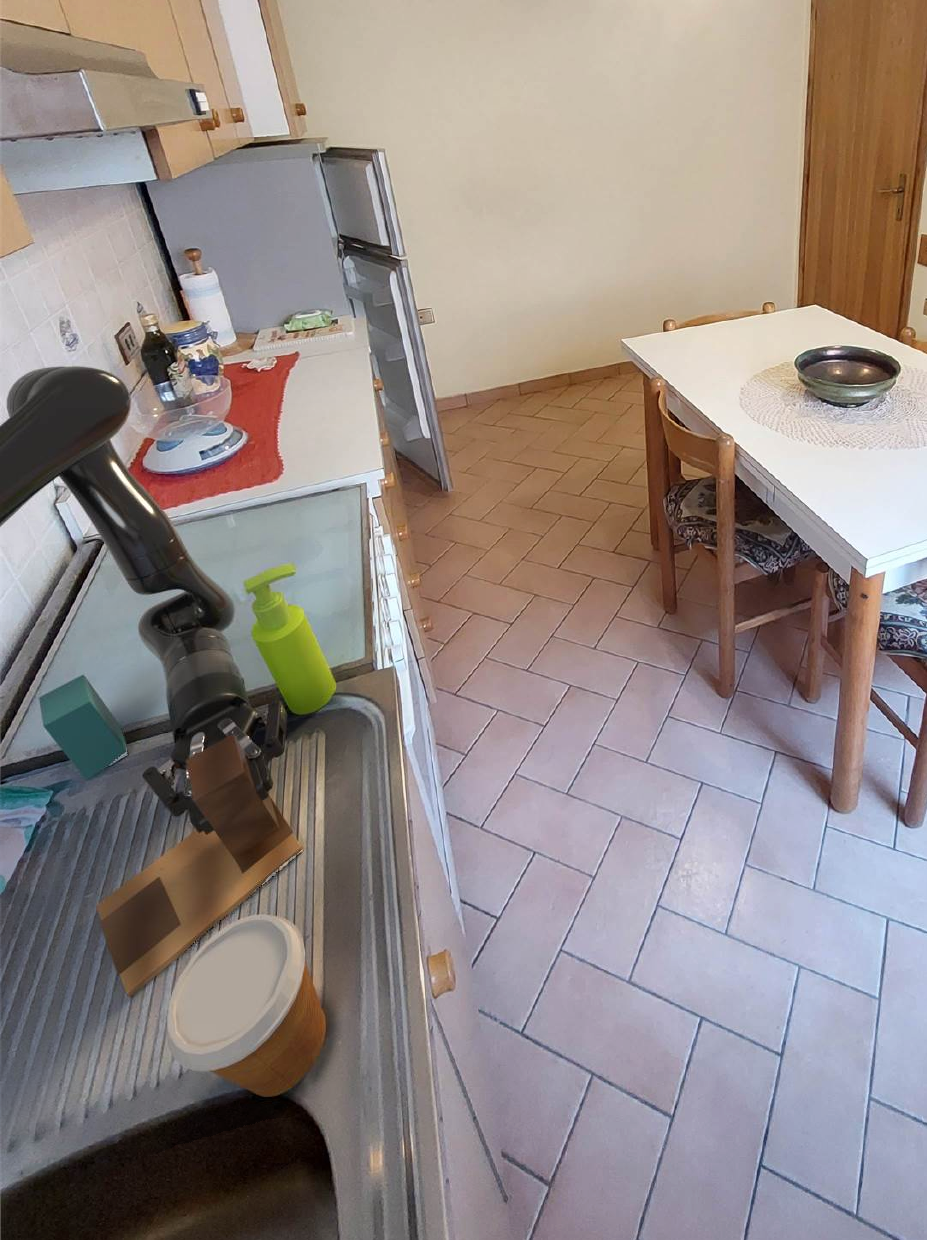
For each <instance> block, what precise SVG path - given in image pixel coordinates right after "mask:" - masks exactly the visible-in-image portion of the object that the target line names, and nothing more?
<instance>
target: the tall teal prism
mask: <svg viewBox="0 0 927 1240" xmlns="http://www.w3.org/2000/svg"><path fill="white" fill-rule="evenodd" d="M38 701H39V706H40V707H39V708H40V713H41V720H42V726H43V728H44V729H45V730H46V731H47V733H48V734H49V736H50V737H51V738H52V740H53V741H54V742H55V743H56V744H57V745H58V747H59V748H60V749H61V750H62V751H63V753H64V754H65V755H66V757H67V758H68V759H69V760H70V761H71V763H72V764H73V766H74V767H75V768H76V770H78V771H79V773H80V775H81V776H83V778H84V779H85V780H86V781H88V780H90V779H91V778H93V777H95V776H96V775H98V774H100V773H101V772H104V771H105V770H106V769H105V768H107V766H109V765H110V764H111V763H113V761H115V759H118V757H120V756H121V755H122V754H124V753H125V752H126V745H127V742H126V737H125V735H124V732H123V733H122V731H123V730H122V731H121V727H122V726H121V725H120V723H119V722H118V720H117V719H116V718H115V716H114V715H113V713H112V712H111V711H110V709H109V707H108V706H107V705H106V704H105V702H104V700H103V699H102V698H101V696H100V695H99V694H98V692H97V691H96V690H95V688H94V687H93V685H92V684H91V682H90V681H89V680H88V678H87V677H86V676H85V674H81V675H80V676H78V677H76V678H73V679H72V680H69V681H68V682H66V683H64V684H62V685H60V686H58V687H56V688H54V689H52V690H50V691H49V692H47V693H45V694H42V695H41V696H39V697H38ZM123 735H124V736H123ZM104 769H105V770H104ZM107 769H108V768H107Z"/></svg>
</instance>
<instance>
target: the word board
mask: <svg viewBox="0 0 927 1240" xmlns="http://www.w3.org/2000/svg"><path fill="white" fill-rule="evenodd" d="M270 798H271V802H272V805H273V808H274V812H275V815H276V818H277V822H278V825H279V828H280V830H279V831H277V832H275V833H274V834H272V835H271V836H269V837H268V838H266V839H265V840H263V841H262V842H260V843H258V844H257V845H255V846H254V847H252V848H251V849H249V850H248V851H246V852H245V853H243V854H241V855H240V856H238V857H237V858H235V859H234V858H233V857H232V855H231V854H230V852H229V851H228V849H227V848H226V847H225V845H224V844H223V842H222V841H221V839H220V838H219V837H218V835H217V834H216V832H215V831H212V832H211V833H209V834H208V835H206V834H205V832H204V831H202V832H201V833H199V832H197V831H196V830H194V831H193V832H192V833H190V834H189V835H188V836H187V837H185V838H184V839H182V840H181V841H180V842H178V843H177V844H176V845H174V846H173V847H172V848H170V849H169V850H168V851H167V852H165V853H164V854H163V855H161V856H159V857H158V858H157V859H156V860H155V861H153V862H152V863H150V864H149V865H147V866H146V867H145V868H144V869H142V870H141V871H140V872H139V873H137V874H136V875H134V876H133V877H132V878H130V879H129V880H128V881H126V882H125V883H124V884H123V885H121V886H120V887H119V888H117V889H116V890H114V891H113V892H112V893H111V894H109V895H108V896H106V897H105V898H104V899H102V900H101V901H100V902H98V903H97V904H96V905H95V907H96V910H97V914H98V915H99V916H98V917H99V918H100V921H99V925H100V928H101V930H102V931H101V932H102V933H103V937H104V939H105V942H106V946H107V949H108V951H109V954H110V957H111V960H112V962H113V965H114V968H115V971H116V974H117V976H119V977H120V980H121V982H122V985H123V988H124V991H125V995H127V996H128V997H129V998H132V997H133V996H134V995H135V994H136V993H138V992H139V991H140V990H141V989H142V988H143V987H145V986H146V985H147V984H148V983H149V982H151V981H152V980H153V979H154V978H155V977H157V976H158V975H159V974H161V972H163V970H165V969H166V968H167V967H168V966H169V965H171V964H172V963H173V962H175V961H176V960H177V959H178V958H179V957H181V956H182V954H184V953H185V952H186V951H187V950H188V949H190V948H191V947H192V946H193V945H194V944H195V943H196V942H195V941H197V940H198V939H199V938H200V939H202V937H201V936H203V935H204V934H205V935H206V934H207V933H208V932H210V931H211V930H212V929H213V928H214V927H216V926H215V924H217V923H218V924H219V923H220V922H221V921H223V920H224V919H225V918H226V917H227V916H229V915H230V914H231V913H233V911H235V910H236V909H237V908H238V907H239V906H240V905H242V904H243V903H244V902H246V900H248V899H249V898H250V897H251V896H252V895H254V894H255V893H254V891H255V890H257V889H258V888H259V887H260V886H261V885H262V884H263V883H264V882H265V881H266V879H267V878H268V877H269V876H270V875H271V874H272V873H273V872H275V871H276V870H277V869H278V868H279V867H280V866H282V865H283V864H284V863H285V862H287V861H288V860H289V859H290V858H291V857H293V856H295V855H296V854H297V853H299V852H300V851H301V850H302V849H303V847H302V845H301V844H300V842H299V840H298V839H297V837H296V836H295V835H294V831H293V829H292V828H291V826H290V825H289V823H288V822H287V820H286V818H285V817H284V815H283V814H282V812H281V811H280V809H279V807H278V806H277V804H276V803H275V802H274V800H273V799H272V797H271V796H270ZM260 888H261V887H260ZM260 888H259V889H260ZM259 889H258V890H259ZM258 890H257V891H258ZM250 895H251V896H250ZM249 896H250V897H249ZM248 897H249V898H248ZM242 902H243V903H242ZM241 903H242V904H241ZM239 904H240V905H239ZM238 905H239V906H238ZM235 908H236V909H235ZM230 912H231V913H230ZM229 913H230V914H229ZM228 914H229V915H228ZM226 915H227V916H226ZM224 917H225V918H224ZM223 918H224V919H223ZM222 919H223V920H222ZM220 920H221V921H220ZM219 921H220V922H219ZM218 924H217V925H218ZM212 927H213V928H212ZM211 928H212V929H211ZM210 929H211V930H210ZM209 930H210V931H209ZM207 931H208V932H207ZM205 935H204V936H205ZM204 936H203V937H204ZM200 939H199V940H200ZM199 940H198V941H199ZM198 941H197V942H198ZM194 942H195V943H194ZM193 943H194V944H193ZM191 945H192V946H191ZM190 946H191V947H190Z"/></svg>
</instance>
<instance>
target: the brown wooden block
mask: <svg viewBox="0 0 927 1240" xmlns="http://www.w3.org/2000/svg"><path fill="white" fill-rule="evenodd" d="M249 762H250V761H249V759H248V758H247V757H246V755H245V753H244V750H243V748H242V747H241V745H240V743H239V742H238V740H237V738H236V737H235V735H234V734H231V735H230V736H228V737H226V738H224V739H223V740H221V741H219V742H217V743H215V744H214V745H212V746H210V747H208V748H207V749H205V750H203V751H201V752H199V753H198V754H196V755H194V756H192V757H190V758H189V759H187V760H186V764H187V769H188V774H189V779H190V785H191V790H192V795H193V800H194V802H195V804H196V805H197V807H198V808H199V810H200V811H201V812H202V814H203V815H204V817H205V818H206V820H207V821H208V822H209V823H210V825H211V826H212V828H213V829H214V831H215V832H216V834H217V835H218V837H219V838H220V839H221V841H222V842H223V844H224V845H225V847H226V848H227V849H228V851H229V852H230V854H231V855H232V857H233V858H234V859H235V858H237V857H238V856H240V855H241V854H243V853H245V852H246V851H248V850H249V849H251V848H252V847H254V846H255V845H257V844H258V843H260V842H262V841H263V840H265V839H266V838H268V837H269V836H271V835H272V834H274V833H275V832H277V831H279V830H280V828H279V825H278V822H277V818H276V815H275V812H274V808H273V805H272V802H271V799H272V797H271V796H270V792H269V791H268V794H269V797H268V798H266V799H264V800H263V801H261V799H260V798H259V796H258V794H257V793H256V790H255V787H254V784H253V780H252V777H251V773H250V770H249V766H248V763H249ZM270 797H271V798H270Z"/></svg>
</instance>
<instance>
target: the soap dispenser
mask: <svg viewBox="0 0 927 1240" xmlns="http://www.w3.org/2000/svg"><path fill="white" fill-rule="evenodd" d="M296 572H297V570H296V567H295V564H294V563H287V564H283V565H279V566H275V567H272V568H270V569H268V570H267V569H266V570H265V571H263V572H261V573H258V574H256V575H254V576H252V577H250V578H248V579H245V580H244V581H243V586H244V590H245V593H246V594H247V595H250V594H252V593H253V594H254V596H255V598H256V599H255V600H254V601H253V603H252V605H251V609H252V612H253V613H254V615H255V618H256V619H257V620H255V622H254V623H253V626H252V627H251V631H250V635H251V638H252V639H253V642H254V644H255V645H256V648H257V649H258V651H259V653H260V656H261V657H262V659H263V661H264V663H265V665H266V667H267V668H268V670H269V672H270V675H271V677H272V679H273V680H274V682H275V684H276V686H277V688H278V690H279V692H280V694H281V696H282V698H283V700H284V701H285V704H286V706H287V708H288V709H289V710H291V711H292V712H291V711H290V712H291V713H293V714H295V715H300V716H301V715H309V714H312V713H315V712H317V711H319V710H321V709H322V708H323V707H324V706H326V705H327V704H328V703H329V702H330V701H331V700H332V698H333V697H332V695H333V694H334V695H335V693H336V689H337V682H336V680H335V677H334V676H333V673H332V671H331V669H330V667H329V664H328V662H327V660H326V658H325V655H324V653H323V651H322V649H321V647H320V644H319V642H318V640H317V638H316V636H315V634H314V631H313V629H312V626H311V624H310V622H309V620H308V618H307V616H306V614H305V611H304V609H303V607H301V606H299V605H297V604H288V603H287V601H286V599H285V596H284V594H283V593H282V592H281V591H277V590H272V588H271V586H270V584H273V583H275V582H277V581H280V580H283V579H285V578H289V577H292V576H294V575H295V574H296ZM334 692H335V693H334ZM334 695H333V696H334ZM331 697H332V698H331Z"/></svg>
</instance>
